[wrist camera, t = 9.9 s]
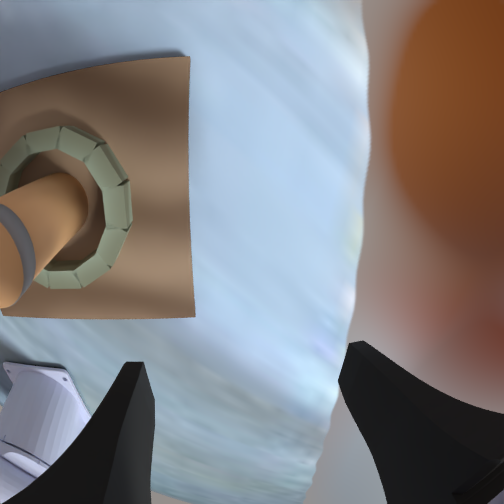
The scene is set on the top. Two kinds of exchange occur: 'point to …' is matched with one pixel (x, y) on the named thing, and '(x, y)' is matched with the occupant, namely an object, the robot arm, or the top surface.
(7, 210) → the peg
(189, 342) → the top surface
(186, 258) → the dock socket
